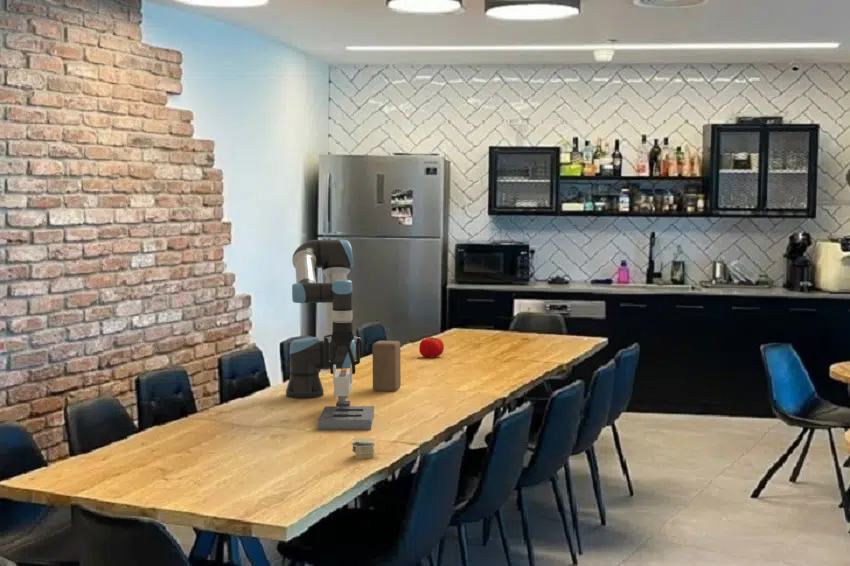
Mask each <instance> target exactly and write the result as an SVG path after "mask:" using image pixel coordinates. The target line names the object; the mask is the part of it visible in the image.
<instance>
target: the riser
mask: <svg viewBox="0 0 850 566" xmlns="http://www.w3.org/2000/svg"><path fill="white" fill-rule="evenodd" d="M335 406H351V400H346V403H345V404H338V400H337V401H336V404H335Z"/></svg>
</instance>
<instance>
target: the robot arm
mask: <svg viewBox="0 0 850 566" xmlns="http://www.w3.org/2000/svg"><path fill="white" fill-rule="evenodd" d="M292 265H293V268H294V269H295V279H296V283H293V284H292V285H291V299H292V302H293V303H294V304H295V303H296V304H314V303H315V304H317V303H318V304H319V303H325V304H326V328H327V329H326V330H327V331H326V333H325V334H324V336H323V340H320V339H319V337H317V336H309V337H308V336H307V337H302V338H298V339H294V340H292V341H291V342H290V343H289V344H290V345H289V379H288V383H287V386H286V390H285V396H286V397H287V398H290V399H300V400H301V399H303V400H304V399H305V400H306V399H317V398H321V397H323V396H324V395H325V394H324V386H323V385H322V384H323V383H322V382H321V379H320V372H319V371H320V370H329V372H330V375H332V377H333V378H332V379H333V380H332V381H333V384H334V376H335V374H336V372H337V370H341V369H347V370H348V369H349V371H350V383H352V384H353V375H355V374H356V366H357V365H360V364H361V354H360V353H361V351H360V350H361V349H360V342H361V337H360V336H359V337H358V336H355V335H354V332H353V331H354V329H353V316H354V315H353V314H354V313H353V290H354V288H353V282H352V280H350V279H348V278H347V277H348V276H347V275H348V274H350V272H351V269H352V268H353V267H354V255H353V248H352V245H351V243H350V241H349V240H347V239H339V238H338V239H310V240H308V241H305V242H303V243H302V244H300V245H299V246H298V247H297V248H296V249H295V251H294V253H293V254H292ZM315 269H321V273H322V274H323V275H324V276H325V282H317V281H316V271H315ZM355 357H356V360H355Z"/></svg>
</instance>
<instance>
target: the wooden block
mask: <svg viewBox="0 0 850 566" xmlns="http://www.w3.org/2000/svg"><path fill="white" fill-rule="evenodd" d="M401 370H402V369H401V342H400V341H399V340H378V341H376V342H373V344H372V390H373V391H374V392H396V391H397V390H399V389H400V388H401V386H402V385H401V384H402V383H401Z"/></svg>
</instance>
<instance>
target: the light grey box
mask: <svg viewBox="0 0 850 566" xmlns="http://www.w3.org/2000/svg"><path fill="white" fill-rule="evenodd" d="M352 384H353V382H352V383H350V370H348V368H347V369H340V370H336V374H335V376H334V383H333V397H337V401H338V404H345V403H346V401H347V399H348V398H349V397H350V394H351V392H352V389H353V388H352V387H353V385H352Z"/></svg>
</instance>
